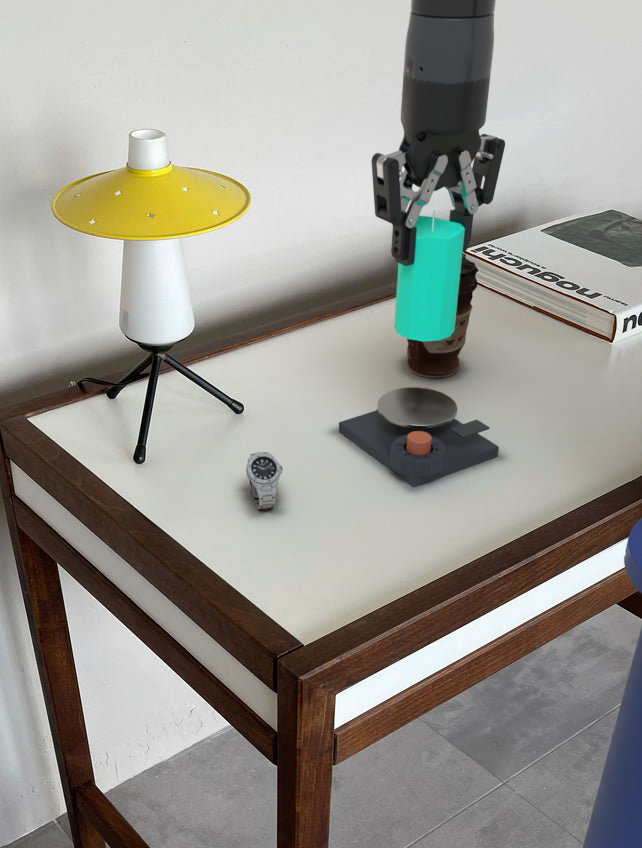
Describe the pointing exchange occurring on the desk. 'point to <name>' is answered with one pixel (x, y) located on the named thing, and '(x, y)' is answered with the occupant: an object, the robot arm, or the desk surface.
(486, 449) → the scale
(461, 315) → the coffee cup
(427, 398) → the scale pan
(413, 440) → the tare button
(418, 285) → the candle
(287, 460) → the desk surface
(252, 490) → the wristwatch
